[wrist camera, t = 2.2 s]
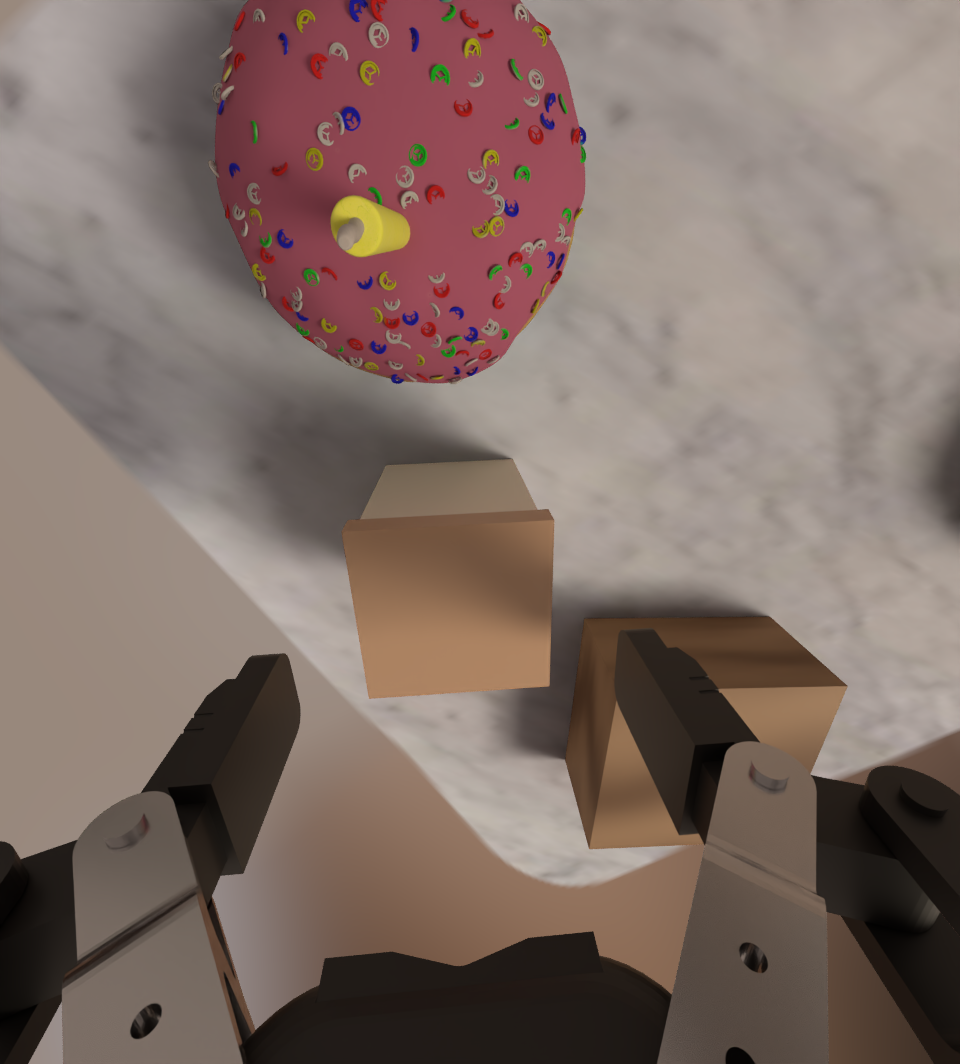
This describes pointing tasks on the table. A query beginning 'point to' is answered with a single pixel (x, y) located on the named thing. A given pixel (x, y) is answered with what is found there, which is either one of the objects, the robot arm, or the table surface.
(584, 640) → the brown wooden block
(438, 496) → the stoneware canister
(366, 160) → the cupcake
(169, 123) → the table surface
